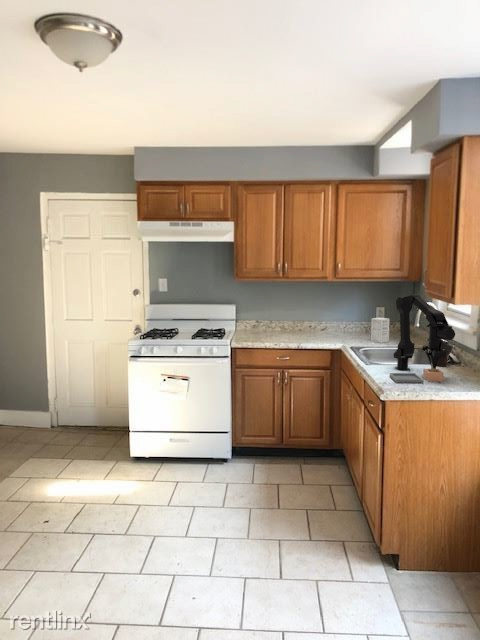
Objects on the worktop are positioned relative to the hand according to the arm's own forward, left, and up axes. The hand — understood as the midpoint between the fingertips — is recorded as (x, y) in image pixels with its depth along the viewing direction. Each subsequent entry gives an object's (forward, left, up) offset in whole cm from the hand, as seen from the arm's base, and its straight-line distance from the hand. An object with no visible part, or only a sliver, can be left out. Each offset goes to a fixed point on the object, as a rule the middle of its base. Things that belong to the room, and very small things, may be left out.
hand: (433, 367), depth 247 cm
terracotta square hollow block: (0, 0, -6) cm, 6 cm away
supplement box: (-108, -1, -6) cm, 108 cm away
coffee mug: (-32, +16, -6) cm, 36 cm away
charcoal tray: (+2, -14, -6) cm, 15 cm away
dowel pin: (0, 0, -6) cm, 6 cm away
